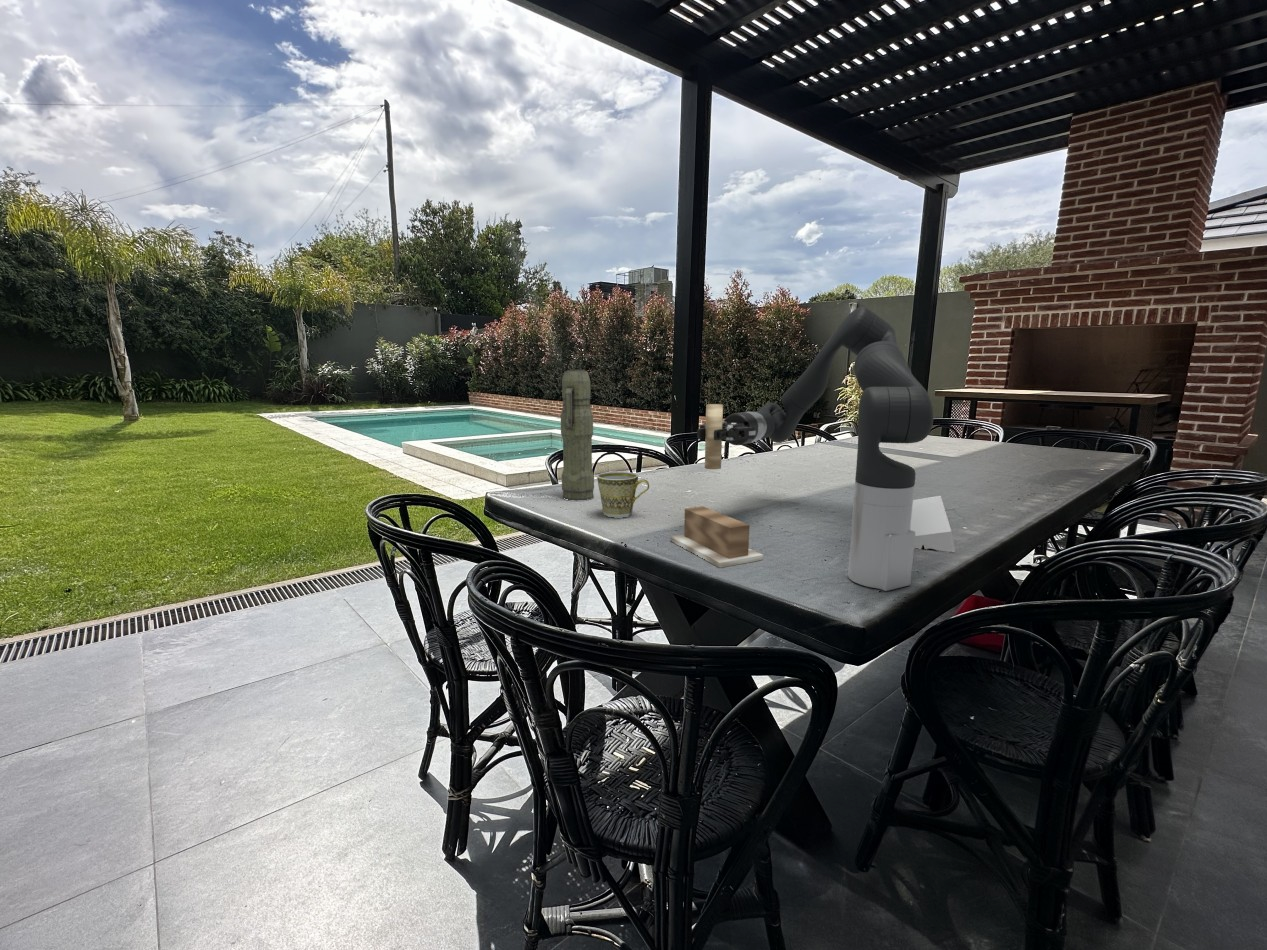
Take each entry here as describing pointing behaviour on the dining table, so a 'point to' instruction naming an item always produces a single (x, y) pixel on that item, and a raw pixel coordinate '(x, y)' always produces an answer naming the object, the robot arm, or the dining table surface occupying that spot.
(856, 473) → the robot arm
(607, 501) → the ceramic cup
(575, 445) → the thermos
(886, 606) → the dining table surface
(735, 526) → the stand
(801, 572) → the dining table surface
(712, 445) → the dowel
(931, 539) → the decorative molding
